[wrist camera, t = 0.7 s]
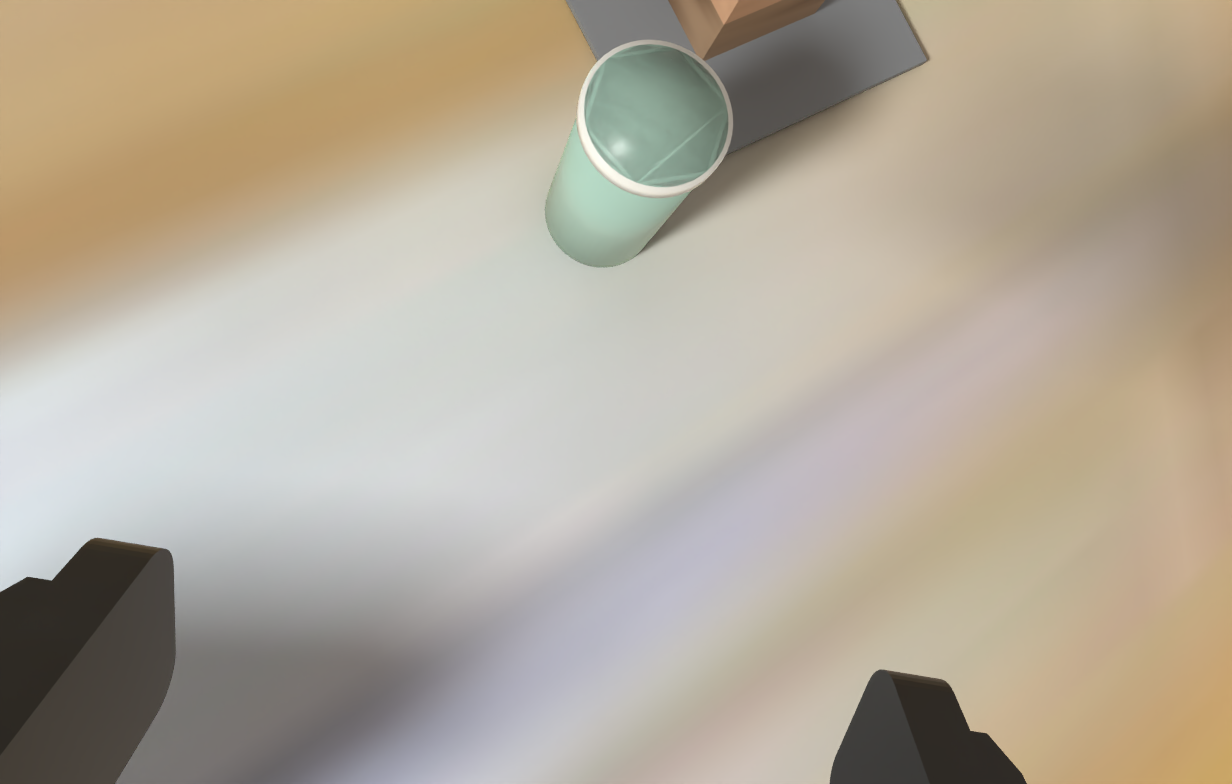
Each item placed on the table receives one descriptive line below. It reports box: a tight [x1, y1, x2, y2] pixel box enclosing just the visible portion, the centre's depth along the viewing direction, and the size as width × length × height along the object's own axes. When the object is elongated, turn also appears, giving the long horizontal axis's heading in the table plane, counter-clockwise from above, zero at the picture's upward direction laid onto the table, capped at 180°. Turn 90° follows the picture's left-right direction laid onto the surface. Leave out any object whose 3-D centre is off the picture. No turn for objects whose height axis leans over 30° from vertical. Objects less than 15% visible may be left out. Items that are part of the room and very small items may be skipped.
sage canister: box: [545, 40, 733, 267], centre depth 33 cm, size 5×5×10 cm
